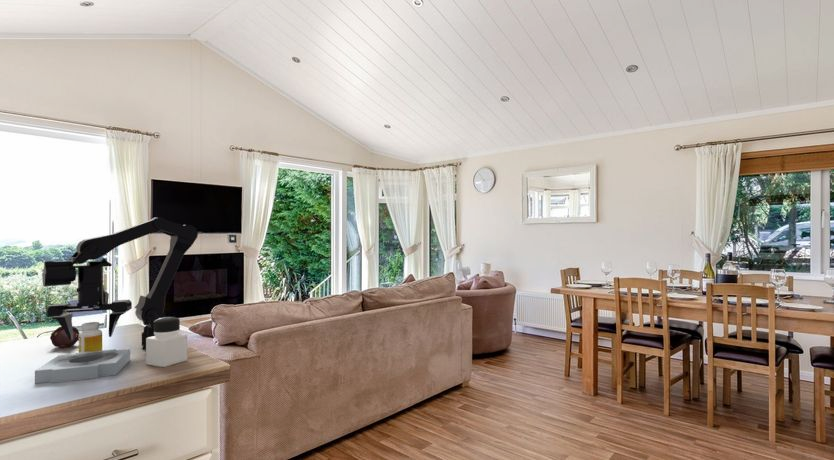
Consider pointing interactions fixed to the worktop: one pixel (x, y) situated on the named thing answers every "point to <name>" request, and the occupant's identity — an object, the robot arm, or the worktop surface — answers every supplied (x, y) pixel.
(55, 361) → the socket block
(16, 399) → the worktop surface
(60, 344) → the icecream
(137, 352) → the worktop surface
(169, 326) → the medicine bottle
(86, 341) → the supplement bottle
